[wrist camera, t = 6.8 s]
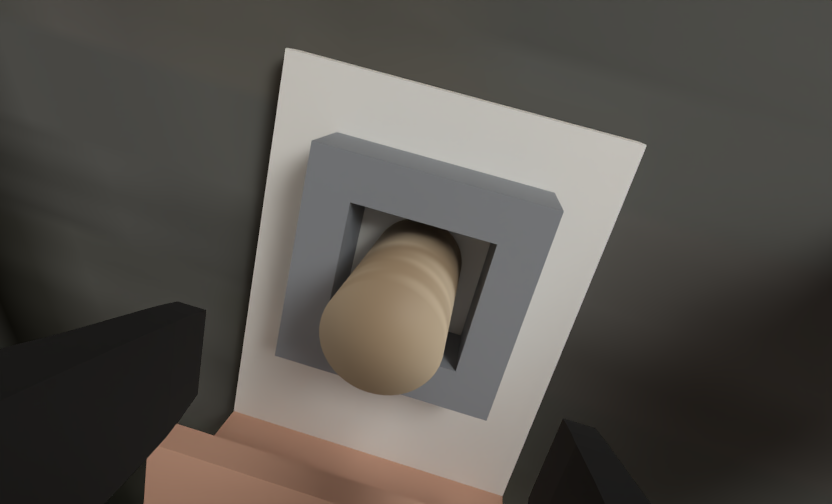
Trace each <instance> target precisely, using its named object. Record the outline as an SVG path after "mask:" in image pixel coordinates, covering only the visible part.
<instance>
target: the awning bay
mask: <svg viewBox="0 0 832 504" xmlns="http://www.w3.org/2000/svg"><path fill="white" fill-rule="evenodd" d="M646 146H647V145H645V144H643V143H641V142H638V141H635V140H631V139H627V138H624V137H620V136H616V135H612V134H609V133H605V132H601V131H598V130H594V129H590V128H586V127H583V126H579V125H575V124H572V123H568V122H564V121H560V120H557V119H553V118H549V117H546V116H542V115H538V114H535V113H531V112H527V111H523V110H520V109H516V108H512V107H509V106H505V105H501V104H497V103H494V102H490V101H486V100H483V99H479V98H475V97H471V96H468V95H464V94H460V93H457V92H453V91H449V90H445V89H442V88H438V87H434V86H431V85H427V84H423V83H420V82H416V81H412V80H408V79H405V78H401V77H397V76H394V75H390V74H386V73H382V72H379V71H375V70H371V69H368V68H364V67H360V66H356V65H353V64H349V63H345V62H342V61H338V60H334V59H330V58H327V57H323V56H319V55H316V54H312V53H308V52H305V51H301V50H297V49H290V48H286V49H285V56H284V63H283V70H282V77H281V84H280V91H279V98H278V105H277V112H276V119H275V126H274V133H273V140H272V147H271V154H270V161H269V168H268V175H267V182H266V189H265V196H264V203H263V210H262V217H261V224H260V231H259V238H258V245H257V252H256V259H255V266H254V273H253V280H252V287H251V294H250V301H249V308H248V315H247V322H246V329H245V336H244V343H243V350H242V357H241V364H240V371H239V378H238V385H237V392H236V399H235V406H234V411H233V413H232V414H231V415H230V416H229V418H228V419H227V420H226V421H225V423H224V424H223V425H222V426H221V428H220V429H219V430H218V432H217V433H216V434H215V435H214V436H213V435H210V434H207V433H204V432H201V431H198V430H195V429H192V428H189V427H185V426H182V425H179V424H176V425H175V426H174V428H173V429H172V430H171V432H170V433H169V434H168V436H167V437H166V438H165V439H164V440H163V441H162V443H161V444H160V445H159V446H158V447H157V448H156V449H155V450H154V451H153V452H152V454H151V455H150V456H149V457H148V458H147V464H146V478H145V493H144V504H503V499H502V496H503V494H504V491H505V489H506V486H507V484H508V482H509V479H510V477H511V474H512V472H513V469H514V467H515V464H516V462H517V460H518V457H519V455H520V452H521V450H522V447H523V445H524V443H525V440H526V438H527V435H528V433H529V430H530V428H531V426H532V423H533V421H534V418H535V416H536V413H537V411H538V409H539V406H540V404H541V401H542V399H543V396H544V394H545V392H546V389H547V387H548V384H549V382H550V379H551V377H552V375H553V372H554V370H555V367H556V365H557V362H558V360H559V358H560V355H561V353H562V350H563V348H564V345H565V343H566V340H567V338H568V336H569V333H570V331H571V328H572V326H573V323H574V321H575V319H576V316H577V314H578V311H579V309H580V306H581V304H582V302H583V299H584V297H585V294H586V292H587V289H588V287H589V285H590V282H591V280H592V277H593V275H594V272H595V270H596V268H597V265H598V263H599V260H600V258H601V255H602V253H603V251H604V248H605V246H606V243H607V241H608V238H609V236H610V234H611V231H612V229H613V226H614V224H615V221H616V219H617V216H618V214H619V212H620V209H621V207H622V204H623V202H624V199H625V197H626V195H627V192H628V190H629V187H630V185H631V182H632V180H633V178H634V175H635V173H636V170H637V168H638V165H639V163H640V161H641V158H642V156H643V153H644V151H645V148H646ZM404 219H410V220H413V221H417V222H420V223H424V224H427V225H431V226H434V227H438V228H441V229H445V230H447V231H449V233H450V234H451V235H452V236H453V237H454V239H455V240H456V242H457V244H458V246H459V249H460V252H461V258H462V265H461V272H460V277H459V281H458V286H457V291H456V296H455V301H454V306H453V310H452V315H451V320H450V325H449V330H448V334H447V339H446V344H445V349H444V354H443V358H442V361H441V363H440V366H439V368H438V369H437V371H436V373H435V374H434V375H433V376H432V378H431V379H430V380H428V381H427V382H426V383H425V384H424V385H422V386H421V387H419V388H417V389H415V390H413V391H410V392H408V393H404V394H399V395H378V394H373V393H369V392H366V391H363V390H360V389H358V388H356V387H354V386H352V385H351V384H349V383H348V382H346V381H345V380H344V379H342V378H341V377H340V376H339V375H338V374H337V373H336V372H335V371H334V370H333V368H332V367H331V366H330V364H329V363H328V361H327V359H326V358H325V355H324V353H323V351H322V347H321V344H320V338H319V326H320V320H321V317H322V314H323V311H324V309H325V307H326V306H327V304H328V303H329V301H330V300H331V299H332V297H333V296H334V295H335V294H336V292H337V291H338V290H339V288H340V287H341V286H342V285H343V283H344V282H345V281H346V280H347V278H348V277H349V276H350V274H351V273H352V272H353V271H354V269H355V268H356V267H357V265H358V264H359V263H360V262H361V260H362V259H363V258H364V257H365V255H366V254H367V253H368V251H369V250H370V249H371V248H372V246H373V245H374V244H375V243H376V241H377V240H378V239H379V237H380V236H381V235H382V234H383V232H384V231H385V230H386V229H387V228H389V227H390V226H391V225H393V224H394V223H396V222H398V221H401V220H404Z"/></svg>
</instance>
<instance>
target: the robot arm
mask: <svg viewBox="0 0 832 504" xmlns="http://www.w3.org/2000/svg"><path fill="white" fill-rule="evenodd" d="M205 317H206V310H204V309H200V308H197V307H194V306H190V305H187V304H184V303H181V302H173V303H168V304H164V305H160V306H156V307H152V308H148V309H145V310H141V311H138V312H134V313H131V314H127V315H124V316H120V317H117V318H113V319H110V320H106V321H103V322H99V323H96V324H92V325H89V326H85V327H82V328H78V329H75V330H71V331H68V332H64V333H60V334H57V335H53V336H49V337H45V338H41V339H37V340H33V341H29V342H25V343H21V344H17V345H13V346H9V347H5V348H1V349H0V504H105V503H106V502H107V500H108V499H109V498H110V497H111V496H112V495H113V494H114V493H115V492H116V491H117V490H118V489H119V488H120V487H121V486H122V485H123V483H124V482H125V481H126V480H127V479H128V478H129V477H130V476H131V475H132V474H133V473H134V472H135V471H136V470H137V469H138V468H139V466H140V465H141V464H142V463H143V462H144V461H145V460H146V459H147V458H148V457H149V456H150V455H151V454H152V452H153V451H154V450H155V449H156V448H157V447H158V446H159V445H160V444H161V443H162V441H163V440H164V439H165V438H166V437H167V436H168V434H169V433H170V432H171V430H172V429H173V428H174V426H175V425H176V424H177V422H178V421H179V420H180V418H181V417H182V416H183V414H184V413H185V411H186V410H187V408H188V407H189V406H190V404H191V403H192V401H193V400H194V399H195V397H196V396H197V394H198V384H199V375H200V365H201V355H202V346H203V336H204V326H205ZM528 504H651V503H650V502H649V500H648V499H647V498H646V496H645V495H644V494H643V492H642V491H641V490H640V488H639V487H638V485H637V484H636V483H635V481H634V480H633V479H632V477H631V476H630V474H629V473H628V472H627V470H626V469H625V467H624V466H623V465H622V463H621V462H620V461H619V459H618V458H617V456H616V455H615V454H614V452H613V451H612V450H611V448H610V447H609V445H608V444H607V443H606V441H605V440H604V439H603V437H602V436H601V435H600V434H599V432H598V431H597V430H596V429H595V428H593V427H589V426H586V425H583V424H580V423H576V422H573V421H570V420H566V419H563V420H562V422H561V425H560V427H559V429H558V432H557V434H556V436H555V439H554V441H553V443H552V446H551V448H550V450H549V453H548V455H547V457H546V459H545V462H544V464H543V466H542V469H541V471H540V473H539V476H538V478H537V480H536V483H535V485H534V487H533V490H532V492H531V494H530V497H529V501H528Z"/></svg>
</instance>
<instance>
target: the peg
mask: <svg viewBox="0 0 832 504" xmlns="http://www.w3.org/2000/svg"><path fill="white" fill-rule="evenodd" d="M461 265H462V258H461V252H460V249H459V246H458V244H457V242H456V240H455V239H454V237H453V236H452V235H451V234H450V233H449V231H447V230H445V229H441V228H438V227H434V226H431V225H427V224H424V223H420V222H417V221H413V220H410V219H404V220H401V221H398V222H396V223H394V224H393V225H391V226H390V227H389V228H387V229H386V230H385V231H384V232H383V234H382V235H381V236H380V237H379V239H378V240H377V241H376V243H375V244H374V245H373V246H372V248H371V249H370V250H369V251H368V253H367V254H366V255H365V257H364V258H363V259H362V260H361V262H360V263H359V264H358V265H357V267H356V268H355V269H354V271H353V272H352V273H351V274H350V276H349V277H348V278H347V280H346V281H345V282H344V283H343V285H342V286H341V287H340V288H339V290H338V291H337V292H336V294H335V295H334V296H333V297H332V299H331V300H330V301H329V303H328V304H327V306H326V307H325V309H324V311H323V314H322V317H321V320H320V326H319V338H320V344H321V347H322V351H323V353H324V355H325V358H326V359H327V361H328V363H329V364H330V366H331V367H332V368H333V370H334V371H335V372H336V373H337V374H338V375H339V376H340V377H341V378H342V379H344V380H345V381H346V382H348V383H349V384H351V385H352V386H354V387H356V388H358V389H360V390H363V391H366V392H369V393H373V394H378V395H399V394H404V393H408V392H410V391H413V390H415V389H417V388H419V387H421V386H422V385H424V384H425V383H426V382H427V381H428V380H430V379H431V378H432V376H433V375H434V374H435V373H436V371H437V369H438V368H439V366H440V363H441V361H442V358H443V354H444V349H445V344H446V339H447V334H448V330H449V325H450V320H451V315H452V310H453V306H454V301H455V296H456V291H457V286H458V281H459V277H460V272H461Z"/></svg>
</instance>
